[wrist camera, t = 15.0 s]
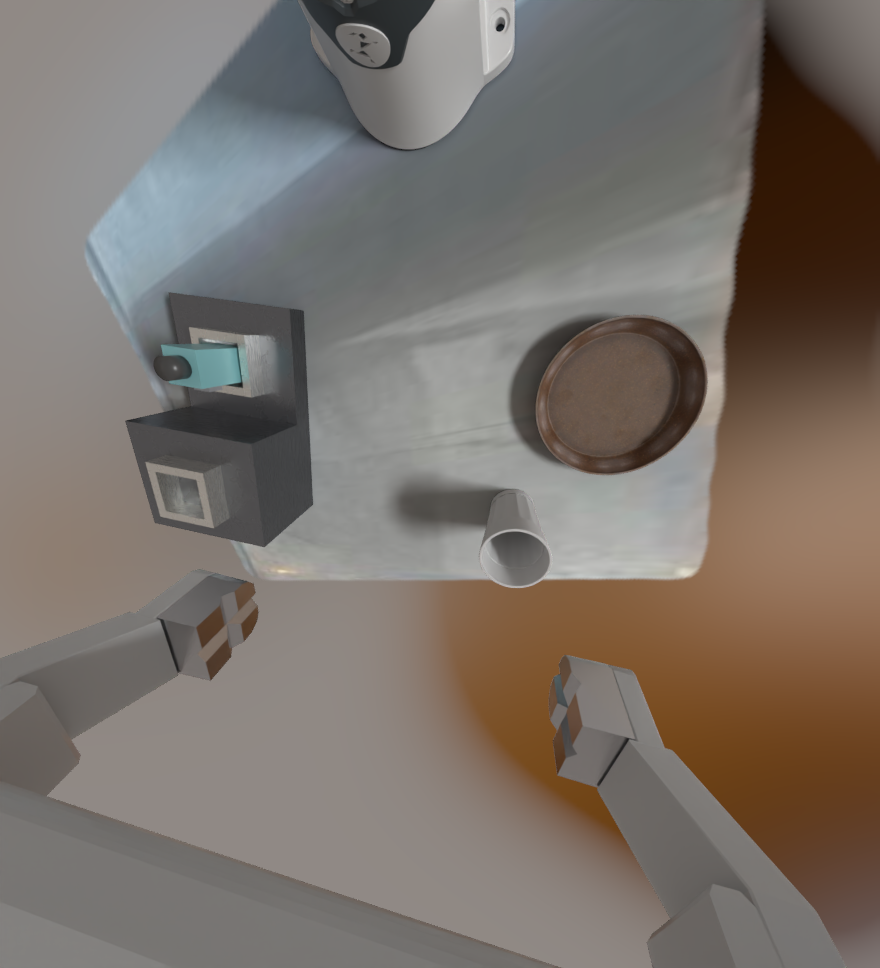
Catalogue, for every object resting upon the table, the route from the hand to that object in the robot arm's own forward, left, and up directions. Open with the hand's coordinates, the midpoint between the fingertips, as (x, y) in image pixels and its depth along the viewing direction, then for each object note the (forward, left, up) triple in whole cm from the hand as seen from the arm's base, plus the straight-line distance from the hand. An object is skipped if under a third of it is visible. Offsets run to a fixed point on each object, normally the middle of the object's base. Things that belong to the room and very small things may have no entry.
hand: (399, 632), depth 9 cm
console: (+7, -32, -37) cm, 49 cm away
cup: (+15, +7, -37) cm, 41 cm away
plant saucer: (-2, +15, -38) cm, 41 cm away
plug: (0, -32, -34) cm, 47 cm away
